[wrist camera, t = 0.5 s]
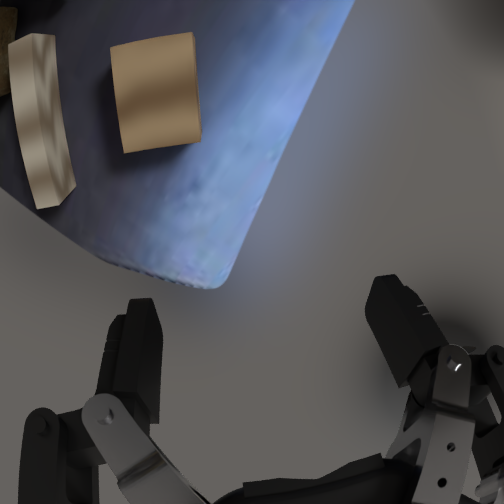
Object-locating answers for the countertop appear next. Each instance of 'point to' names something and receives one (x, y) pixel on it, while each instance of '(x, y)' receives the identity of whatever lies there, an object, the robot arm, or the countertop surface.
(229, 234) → the countertop surface
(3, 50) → the stone block
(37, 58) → the board
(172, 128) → the oak block
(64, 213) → the countertop surface
